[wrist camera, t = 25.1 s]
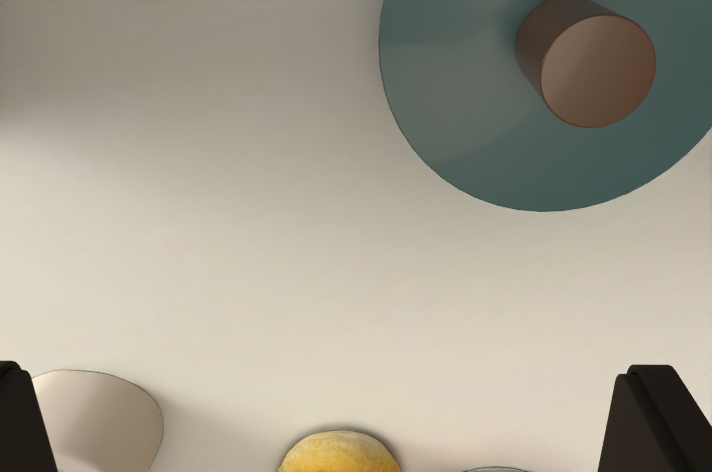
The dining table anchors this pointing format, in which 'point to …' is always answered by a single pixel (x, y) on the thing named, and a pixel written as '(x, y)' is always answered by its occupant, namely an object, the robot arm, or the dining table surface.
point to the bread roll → (339, 454)
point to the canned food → (496, 470)
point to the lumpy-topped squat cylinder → (98, 422)
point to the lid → (548, 93)
